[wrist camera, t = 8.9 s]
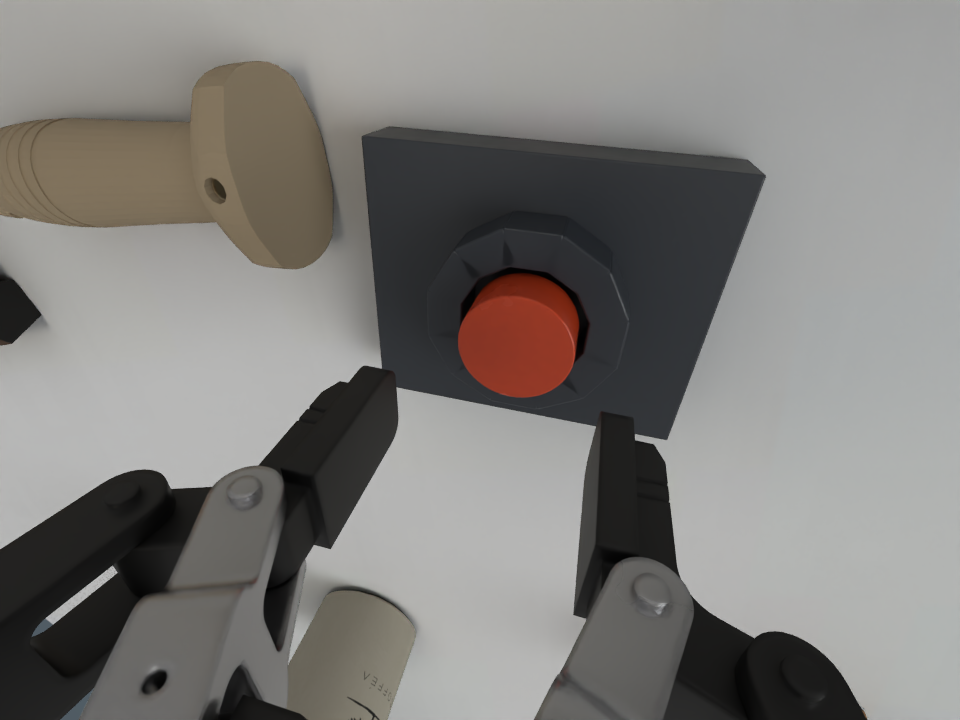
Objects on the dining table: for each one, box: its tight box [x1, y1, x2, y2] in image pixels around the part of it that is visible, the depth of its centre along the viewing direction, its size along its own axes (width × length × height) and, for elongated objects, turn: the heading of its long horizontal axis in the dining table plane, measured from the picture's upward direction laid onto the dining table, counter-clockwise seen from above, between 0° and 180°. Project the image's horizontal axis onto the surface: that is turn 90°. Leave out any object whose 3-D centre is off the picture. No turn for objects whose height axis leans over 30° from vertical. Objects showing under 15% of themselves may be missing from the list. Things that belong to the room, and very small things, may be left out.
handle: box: [0, 61, 333, 269], centre depth 18 cm, size 5×6×15 cm
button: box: [458, 273, 579, 398], centre depth 15 cm, size 4×4×2 cm
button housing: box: [362, 127, 766, 440], centre depth 17 cm, size 12×10×4 cm
